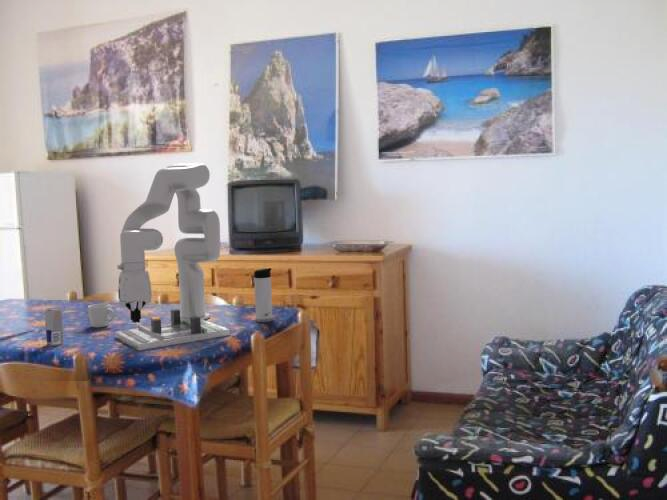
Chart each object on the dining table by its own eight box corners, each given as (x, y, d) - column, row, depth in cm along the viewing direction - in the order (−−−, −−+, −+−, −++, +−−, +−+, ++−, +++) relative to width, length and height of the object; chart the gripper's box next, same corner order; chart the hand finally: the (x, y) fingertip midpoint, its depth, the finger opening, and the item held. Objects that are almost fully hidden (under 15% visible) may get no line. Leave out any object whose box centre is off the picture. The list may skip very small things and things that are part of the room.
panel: (115, 337, 236) (114, 316, 236) (201, 324, 254) (200, 304, 254) (138, 350, 217) (137, 328, 216) (229, 335, 235) (228, 314, 234)
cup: (121, 324, 258) (120, 304, 257) (108, 329, 250) (107, 308, 249) (98, 323, 261) (96, 303, 260) (84, 328, 254) (82, 307, 253)
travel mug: (270, 322, 254) (268, 269, 251) (253, 322, 255) (251, 269, 253) (275, 319, 260) (273, 267, 257) (258, 318, 261) (256, 267, 259)
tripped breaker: (151, 332, 233) (150, 317, 232) (158, 330, 234) (157, 316, 234) (154, 333, 230) (153, 319, 230) (161, 332, 232) (160, 318, 231)
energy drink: (49, 342, 231) (47, 308, 230) (66, 341, 232) (63, 307, 231) (44, 346, 226) (41, 311, 225) (61, 345, 227) (58, 310, 225)
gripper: (114, 270, 219) (117, 326, 220) (159, 266, 227) (161, 320, 229) (107, 268, 225) (110, 323, 226) (151, 264, 233) (153, 317, 235)
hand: (135, 321), depth 227 cm, fingers closed
